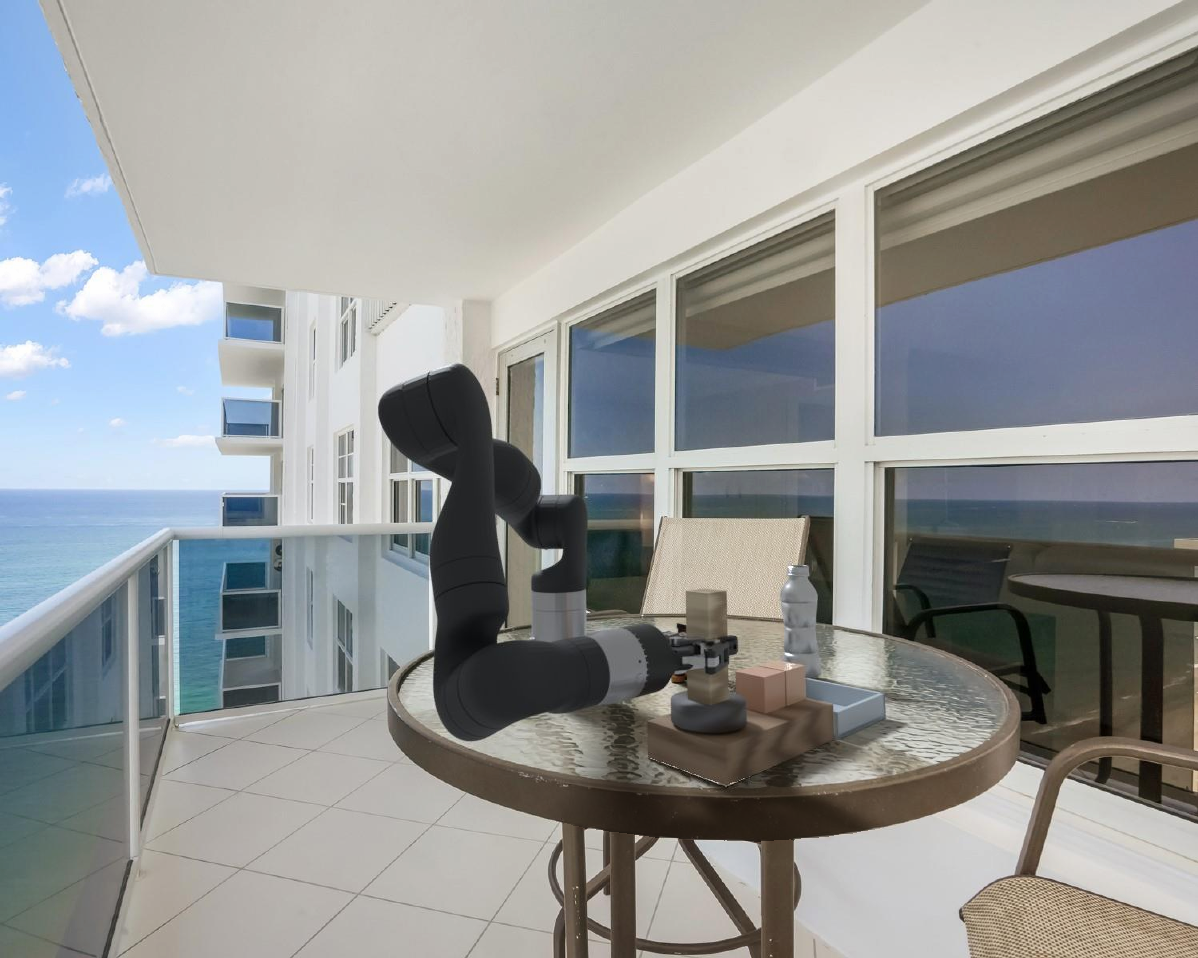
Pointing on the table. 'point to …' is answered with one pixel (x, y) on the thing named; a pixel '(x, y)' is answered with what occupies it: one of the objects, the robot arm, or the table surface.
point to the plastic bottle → (800, 620)
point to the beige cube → (791, 680)
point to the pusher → (707, 694)
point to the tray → (848, 705)
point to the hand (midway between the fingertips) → (721, 641)
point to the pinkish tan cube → (761, 688)
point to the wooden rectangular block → (743, 741)
